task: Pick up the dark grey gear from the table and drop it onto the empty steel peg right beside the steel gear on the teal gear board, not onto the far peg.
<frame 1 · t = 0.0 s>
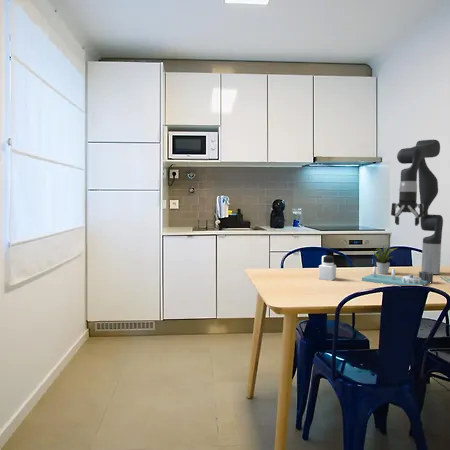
hand: (406, 225, 193), 29 cm above the table, tool pointing down, fingers open, 8 cm apart
gear board: (394, 282, 203), on the table
house plant: (384, 273, 227), on the table
medicine bottle: (327, 279, 210), on the table
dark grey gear: (425, 282, 204), on the table
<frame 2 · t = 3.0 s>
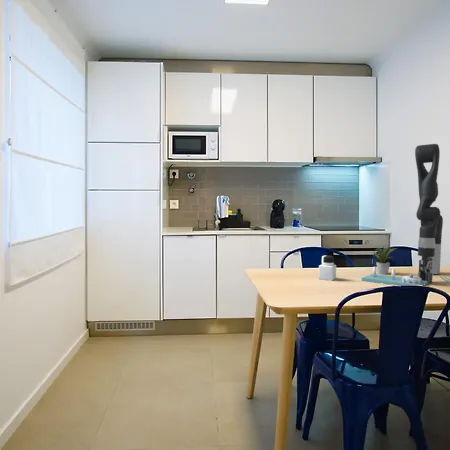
hand: (424, 279, 203), 1 cm above the table, tool pointing down, fingers closed on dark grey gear, 6 cm apart
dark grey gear: (424, 282, 204), on the table, touching gripper
everything else where it was.
when the fingers open (4 cm above the table, at t = 10.3 s): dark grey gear stays where it is, resting on gear board.
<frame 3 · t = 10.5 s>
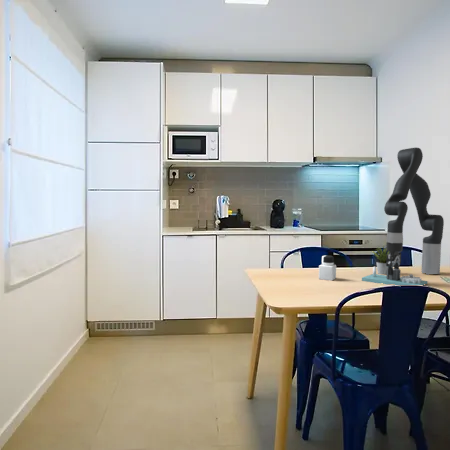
hand: (393, 273, 203), 4 cm above the table, tool pointing down, fingers open, 8 cm apart
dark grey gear: (393, 279, 203), point 1 cm above the table, touching gear board
everything else where it was.
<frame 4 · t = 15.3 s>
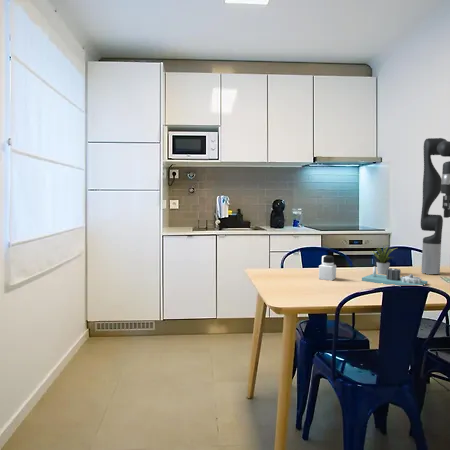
hand: (448, 217, 196), 33 cm above the table, tool pointing down, fingers open, 8 cm apart
nothing on the table moved.
at the end: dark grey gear 0.1 cm off-centre on the gear board, point 1.5 cm above the gear board's base; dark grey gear tilted 0°; the gripper is holding nothing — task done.
